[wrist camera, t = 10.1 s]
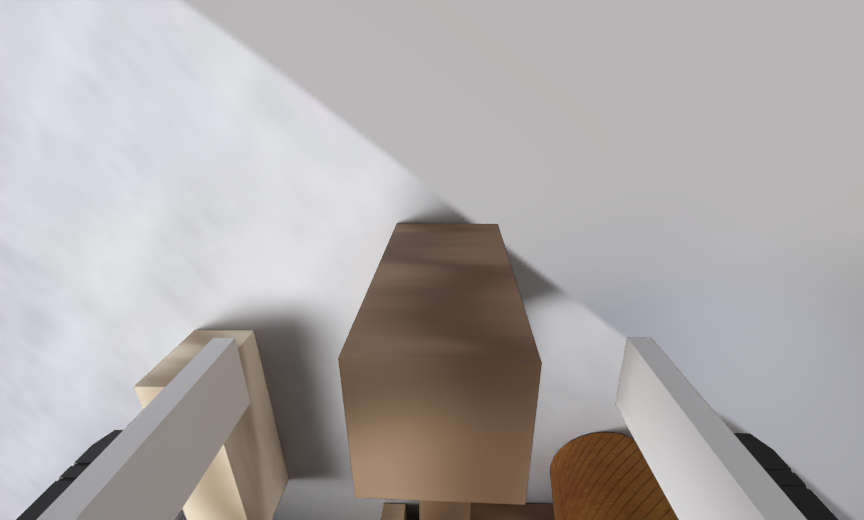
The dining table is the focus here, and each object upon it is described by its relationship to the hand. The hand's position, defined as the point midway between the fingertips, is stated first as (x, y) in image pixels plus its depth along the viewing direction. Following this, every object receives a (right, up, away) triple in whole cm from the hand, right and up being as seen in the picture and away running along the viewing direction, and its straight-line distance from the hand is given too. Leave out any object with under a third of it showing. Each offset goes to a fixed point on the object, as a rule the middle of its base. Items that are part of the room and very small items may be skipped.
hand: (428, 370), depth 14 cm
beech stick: (-12, -6, +12) cm, 18 cm away
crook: (+6, -5, +10) cm, 13 cm away
